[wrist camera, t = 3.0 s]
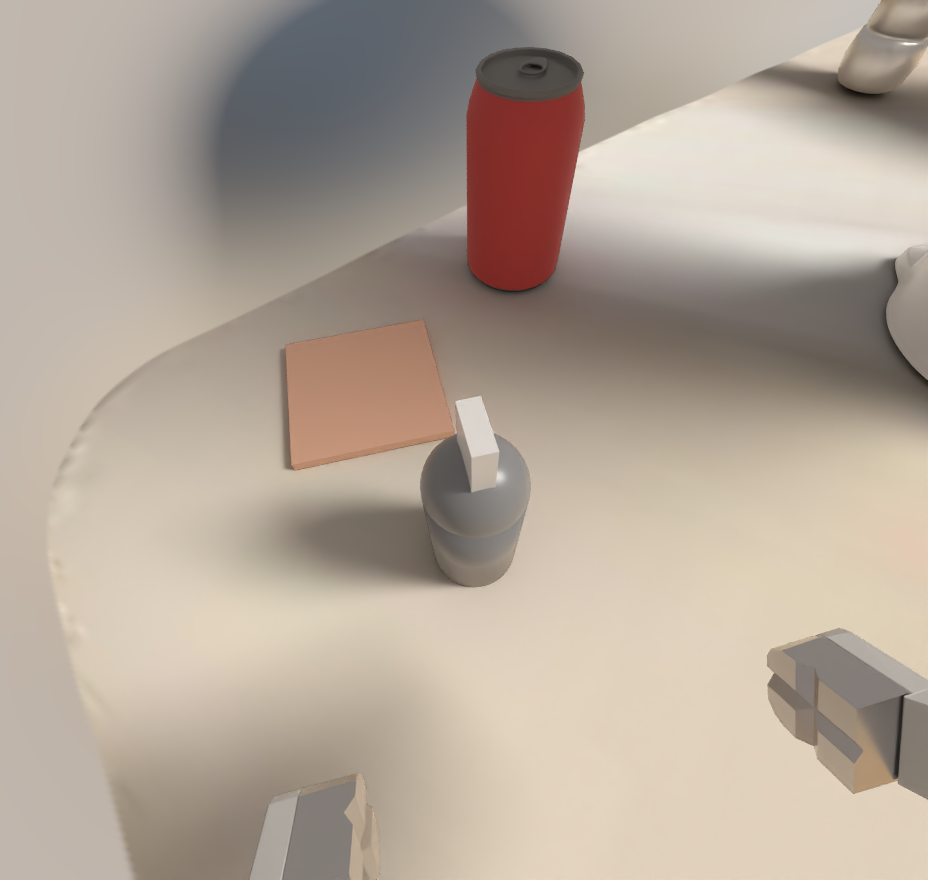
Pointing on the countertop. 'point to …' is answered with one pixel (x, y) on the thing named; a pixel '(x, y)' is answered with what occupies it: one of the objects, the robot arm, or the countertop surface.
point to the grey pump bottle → (474, 498)
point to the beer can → (521, 163)
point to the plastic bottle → (886, 47)
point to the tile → (363, 394)
